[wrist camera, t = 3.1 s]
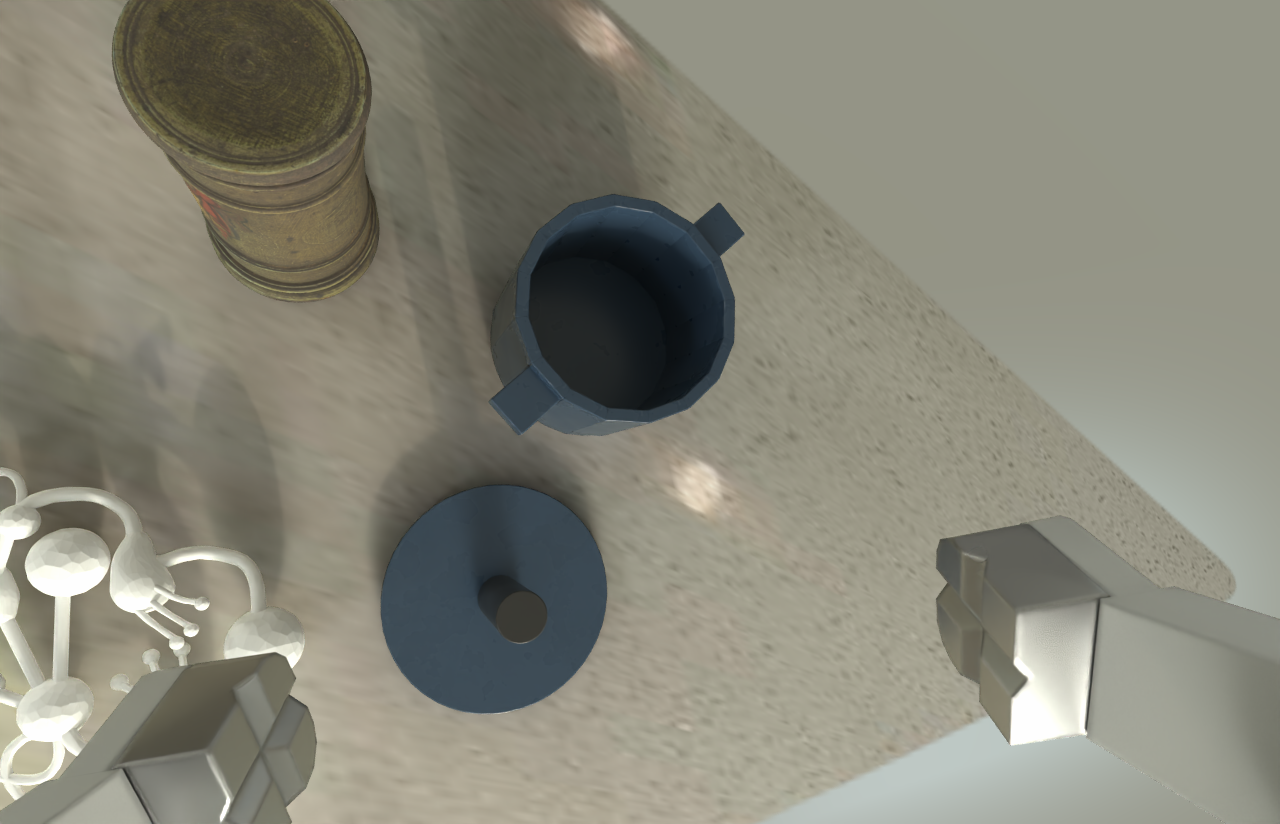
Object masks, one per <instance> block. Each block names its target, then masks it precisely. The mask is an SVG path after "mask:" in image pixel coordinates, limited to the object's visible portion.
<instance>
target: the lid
mask: <svg viewBox="0 0 1280 824" xmlns="http://www.w3.org/2000/svg"><path fill="white" fill-rule="evenodd" d="M606 600H607V581H606V575H605V568H604V564H603V561H602V557H601V554H600V552H599V549H598V547H597V545H596V542H595V540H594V539H593V537H592V535H591V534H590V532H589V530H588V529H587V528H586V526H585V525H584V524H583V523H582V521H581V520H580V519H579V518H578V517H577V516H576V515H575V514H574V513H573V512H572V511H571V510H570V509H569V508H567V507H566V506H565V505H563V504H562V503H561V502H559V501H558V500H556V499H554V498H552V497H550V496H548V495H547V494H544V493H542V492H539V491H536V490H534V489H530V488H526V487H521V486H514V485H488V486H482V487H475V488H472V489H469V490H465V491H462V492H459V493H457V494H455V495H453V496H450V497H448V498H446V499H444V500H443V501H441V502H440V503H438V504H436V505H435V506H433V507H432V508H431V509H429V510H428V511H427V512H426V513H424V514H423V515H422V516H421V517H420V518H419V519H418V520H417V521H416V522H415V523H414V524H413V525H412V526H411V527H410V528H409V530H408V531H407V532H406V534H405V535H404V536H403V537H402V539H401V540H400V542H399V544H398V546H397V547H396V549H395V551H394V553H393V555H392V557H391V560H390V562H389V564H388V567H387V570H386V574H385V577H384V581H383V587H382V594H381V619H382V627H383V632H384V636H385V639H386V643H387V646H388V648H389V650H390V653H391V655H392V657H393V659H394V661H395V663H396V664H397V666H398V667H399V669H400V670H401V672H402V673H403V674H404V676H405V677H406V678H407V679H408V680H409V681H410V683H411V684H412V685H414V686H415V687H416V688H417V689H418V690H419V691H420V692H422V693H423V694H424V695H426V696H427V697H429V698H431V699H432V700H434V701H435V702H437V703H440V704H442V705H444V706H446V707H449V708H452V709H455V710H459V711H462V712H468V713H475V714H498V713H505V712H511V711H514V710H518V709H522V708H525V707H527V706H529V705H532V704H534V703H537V702H539V701H540V700H542V699H544V698H546V697H547V696H549V695H551V694H552V693H554V692H555V691H556V690H558V689H559V688H560V687H562V686H563V685H564V684H565V683H566V682H567V681H568V680H569V679H570V678H571V677H572V676H573V675H574V674H575V673H576V672H577V671H578V669H579V668H580V667H581V666H582V665H583V663H584V662H585V660H586V658H587V657H588V655H589V654H590V652H591V651H592V649H593V646H594V644H595V642H596V640H597V638H598V636H599V633H600V630H601V627H602V624H603V619H604V615H605V610H606Z"/></svg>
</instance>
